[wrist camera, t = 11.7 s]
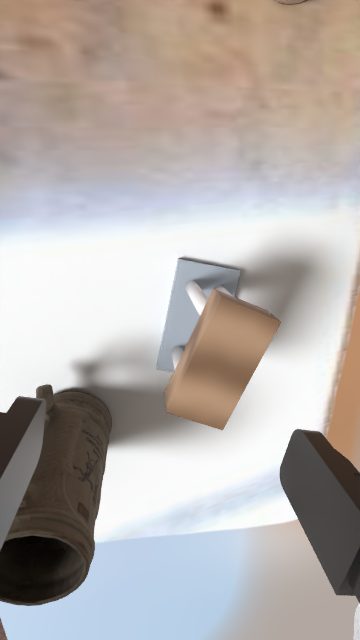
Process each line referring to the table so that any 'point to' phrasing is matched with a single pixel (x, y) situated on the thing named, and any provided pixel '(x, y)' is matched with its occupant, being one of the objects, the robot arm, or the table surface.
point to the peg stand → (190, 305)
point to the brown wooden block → (219, 359)
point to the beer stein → (58, 503)
